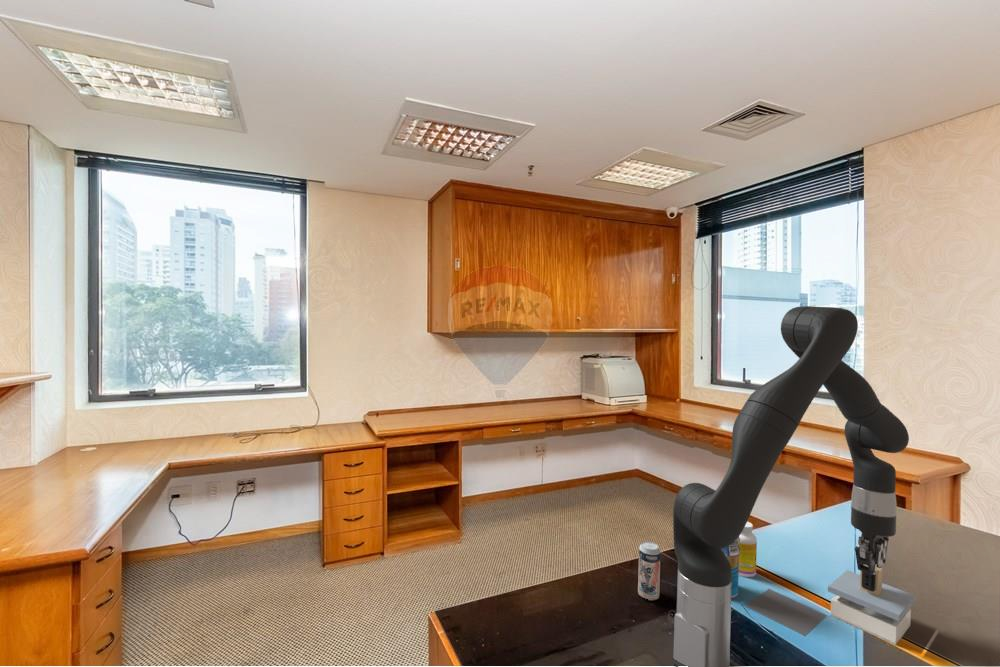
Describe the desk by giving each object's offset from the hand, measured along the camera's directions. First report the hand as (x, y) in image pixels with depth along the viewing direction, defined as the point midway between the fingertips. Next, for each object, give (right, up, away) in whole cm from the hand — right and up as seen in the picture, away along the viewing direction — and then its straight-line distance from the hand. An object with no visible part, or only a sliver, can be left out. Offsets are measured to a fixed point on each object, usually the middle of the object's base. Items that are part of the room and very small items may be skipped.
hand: (871, 586), depth 96 cm
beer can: (-46, -7, +8) cm, 47 cm away
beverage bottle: (-28, -7, +11) cm, 31 cm away
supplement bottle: (-18, -8, +20) cm, 27 cm away
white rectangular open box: (0, -8, 0) cm, 8 cm away
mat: (-17, -8, +3) cm, 19 cm away
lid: (0, -2, 0) cm, 2 cm away
